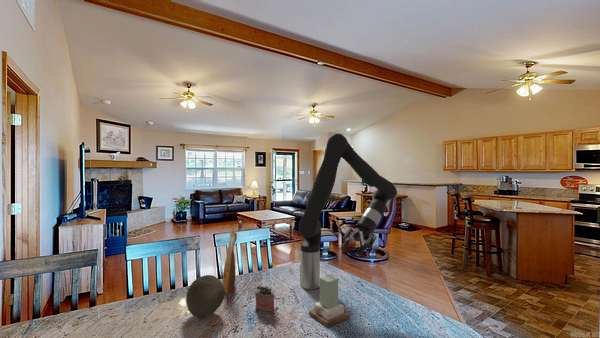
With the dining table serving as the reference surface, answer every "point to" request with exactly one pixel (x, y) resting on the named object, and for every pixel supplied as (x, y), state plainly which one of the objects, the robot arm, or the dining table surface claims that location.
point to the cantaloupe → (205, 296)
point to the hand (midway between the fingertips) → (350, 252)
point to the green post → (329, 291)
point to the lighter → (264, 300)
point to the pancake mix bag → (230, 264)
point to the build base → (328, 322)
